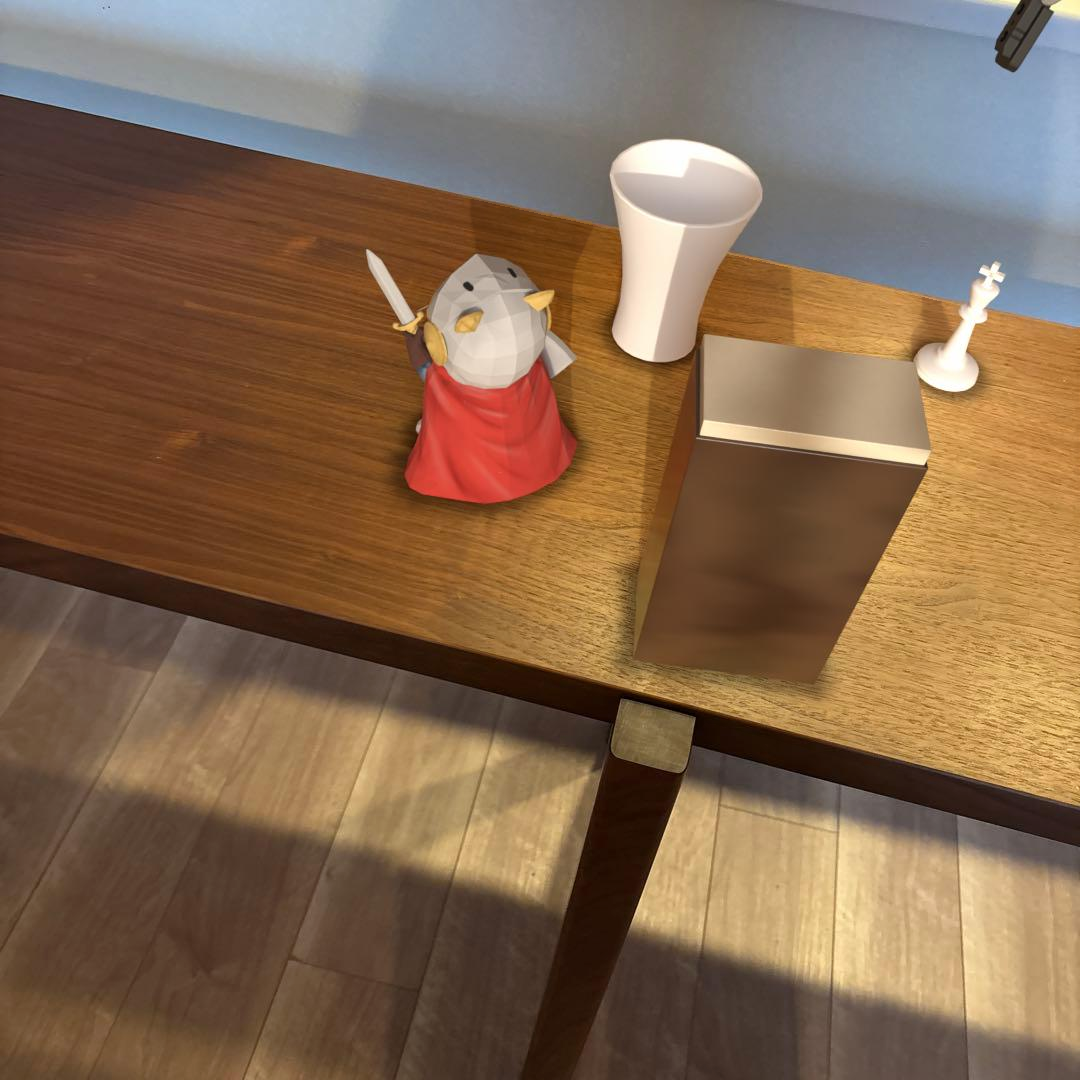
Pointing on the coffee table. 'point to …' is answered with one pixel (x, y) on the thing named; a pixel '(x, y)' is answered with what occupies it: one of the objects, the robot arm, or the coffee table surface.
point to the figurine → (484, 383)
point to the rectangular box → (776, 505)
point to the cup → (674, 238)
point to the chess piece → (959, 339)
